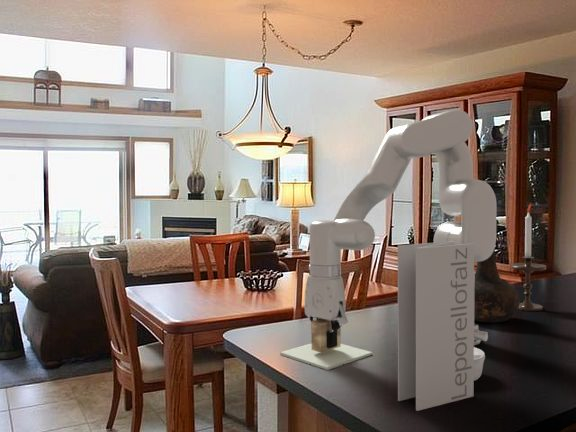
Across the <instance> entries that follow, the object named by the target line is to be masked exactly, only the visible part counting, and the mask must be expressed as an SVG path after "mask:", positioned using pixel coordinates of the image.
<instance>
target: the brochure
mask: <svg viewBox="0 0 576 432" xmlns="http://www.w3.org/2000/svg"><path fill="white" fill-rule="evenodd" d="M474 273H475V262H474V244H461V245H454V241H450V242H438V243H434V242H426V243H412V244H402V245H401V244H400V245H397V401H398V402H401V401H405V400H409V399H413V398H415V411H417V412H419V411H422V410H426V409H429V408H433V407H438V406H442V405H445V404H449V403H452V402H458V401H461V400H464V399H469V398H473V397H474V395H475V394H474V389H475V387H474V347H475V345H474V324H475V320H474Z"/></svg>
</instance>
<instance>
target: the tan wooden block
mask: <svg viewBox="0 0 576 432" xmlns="http://www.w3.org/2000/svg"><path fill="white" fill-rule="evenodd" d="M310 323H311V325H310V326H311V328H310V329H311V332H310V333H311V343H312V350H314V351H317V352H321V353H322V352H325V351H328V350H331V349H334V348H338V347H341V344H342V343H341V336H342V334H341V332H342V331H341V327H342V326H341V327H340V329H339V330H338V331H337V346H336V347H332V348H327V332H328V322H327V320H324V319H318V320H314V321H311V320H310ZM333 324H334V321H333Z"/></svg>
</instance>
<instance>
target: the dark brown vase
mask: <svg viewBox="0 0 576 432" xmlns="http://www.w3.org/2000/svg"><path fill="white" fill-rule="evenodd" d="M475 269H476V270H475V272H474V273H475V318H474V322H475V321H477V322H481V323H490V324H493V323H497V324H498V323H502V322H506V321H508V320H510V319H511V318H512V317H514V315H516V313H517V312H518V311H519V310H518V308H519V304H520V303H521V299H520V295H519V292H518V291H517V288H515V286H513V285H512V284H511V283H510V282H509V281H508V280H506V279H504V278H501V277H500V274H499V269H498V266H497V260H496V252H495V248H494V251H493V253H492V255H491V256H490V257H489V258H488V259H486V260H484V261H481V262H476V268H475Z"/></svg>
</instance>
